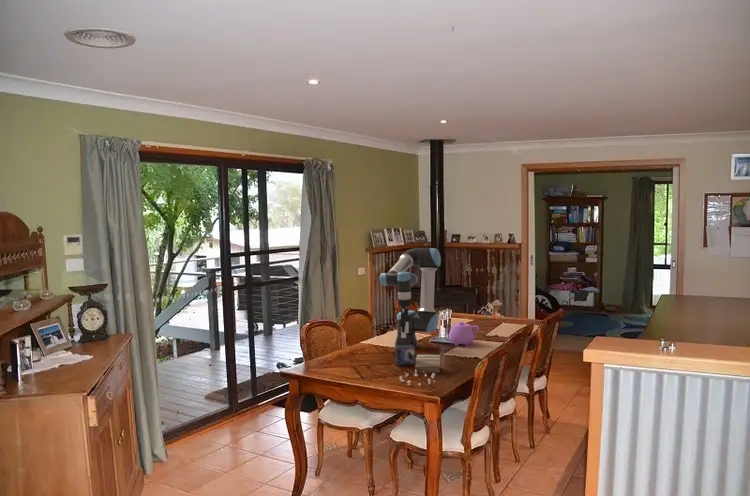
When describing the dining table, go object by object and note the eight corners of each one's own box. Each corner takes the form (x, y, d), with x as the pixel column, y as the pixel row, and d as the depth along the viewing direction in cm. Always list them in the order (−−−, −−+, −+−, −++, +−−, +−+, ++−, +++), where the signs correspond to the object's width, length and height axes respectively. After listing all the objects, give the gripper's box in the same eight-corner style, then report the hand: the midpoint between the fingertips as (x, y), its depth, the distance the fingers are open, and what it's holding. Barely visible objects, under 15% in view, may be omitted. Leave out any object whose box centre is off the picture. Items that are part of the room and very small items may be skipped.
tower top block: (417, 361, 328) (417, 354, 328) (440, 361, 326) (440, 354, 326) (416, 366, 318) (415, 359, 318) (439, 366, 316) (439, 359, 316)
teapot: (477, 340, 392) (477, 318, 391) (480, 347, 372) (480, 324, 371) (448, 340, 394) (448, 318, 393) (449, 347, 374) (449, 324, 373)
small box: (397, 366, 333) (397, 348, 332) (395, 363, 339) (394, 345, 338) (415, 364, 335) (415, 346, 334) (412, 361, 341) (412, 344, 340)
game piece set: (433, 374, 315) (433, 368, 315) (438, 386, 295) (438, 378, 295) (397, 376, 314) (397, 369, 314) (400, 387, 294) (400, 380, 294)
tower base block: (416, 368, 329) (416, 361, 328) (439, 368, 326) (439, 361, 326) (415, 373, 319) (415, 366, 318) (439, 374, 317) (439, 366, 316)
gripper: (400, 295, 347) (401, 330, 348) (395, 302, 323) (395, 339, 324) (413, 295, 346) (413, 330, 347) (408, 302, 321) (409, 340, 323)
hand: (404, 335), depth 336 cm, fingers open, 13 cm apart
